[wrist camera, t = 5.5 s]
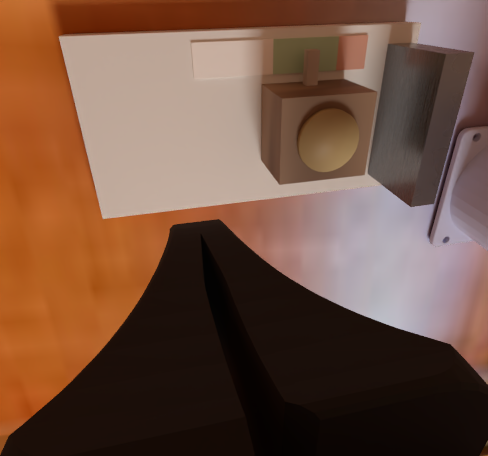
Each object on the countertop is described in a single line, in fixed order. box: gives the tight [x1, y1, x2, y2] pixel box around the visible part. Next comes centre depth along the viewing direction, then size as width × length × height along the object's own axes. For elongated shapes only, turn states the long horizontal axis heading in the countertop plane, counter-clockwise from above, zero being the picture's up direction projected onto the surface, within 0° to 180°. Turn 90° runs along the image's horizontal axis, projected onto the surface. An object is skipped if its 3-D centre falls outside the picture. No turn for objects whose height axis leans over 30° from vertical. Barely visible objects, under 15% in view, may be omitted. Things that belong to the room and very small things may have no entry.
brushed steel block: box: [367, 43, 474, 207], centre depth 18 cm, size 1×6×4 cm, turn 1°
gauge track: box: [59, 22, 421, 219], centre depth 18 cm, size 16×8×1 cm, turn 91°
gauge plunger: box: [261, 49, 377, 185], centre depth 17 cm, size 4×5×3 cm
